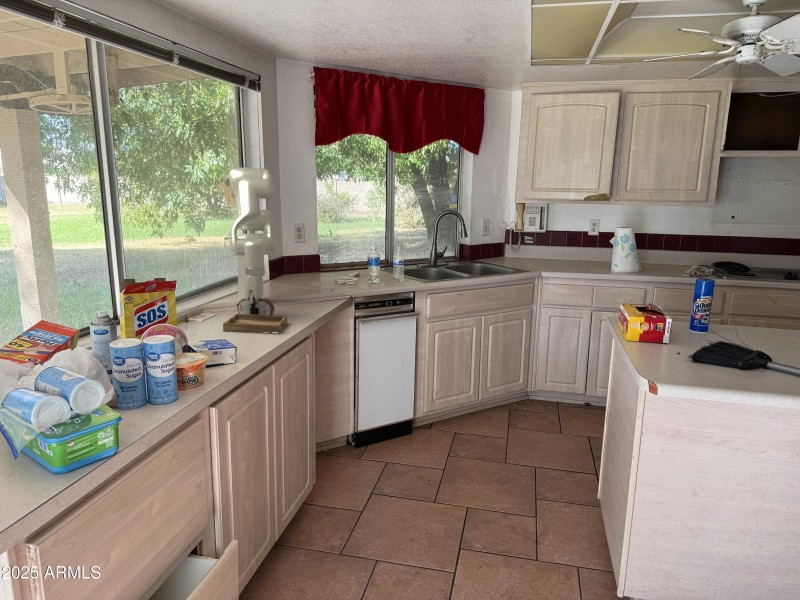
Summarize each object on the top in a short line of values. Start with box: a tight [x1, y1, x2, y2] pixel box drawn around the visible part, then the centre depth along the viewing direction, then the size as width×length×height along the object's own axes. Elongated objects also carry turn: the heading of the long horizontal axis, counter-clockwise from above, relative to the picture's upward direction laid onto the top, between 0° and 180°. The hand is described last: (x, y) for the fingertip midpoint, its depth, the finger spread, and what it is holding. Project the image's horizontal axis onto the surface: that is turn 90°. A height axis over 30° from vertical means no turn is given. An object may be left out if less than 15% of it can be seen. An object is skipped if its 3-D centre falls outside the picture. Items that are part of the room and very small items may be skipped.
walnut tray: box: [222, 313, 288, 334], centre depth 208 cm, size 15×21×3 cm
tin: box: [236, 297, 275, 316], centre depth 220 cm, size 15×3×8 cm, turn 85°
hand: (255, 315), depth 221 cm, fingers closed on tin, 2 cm apart
